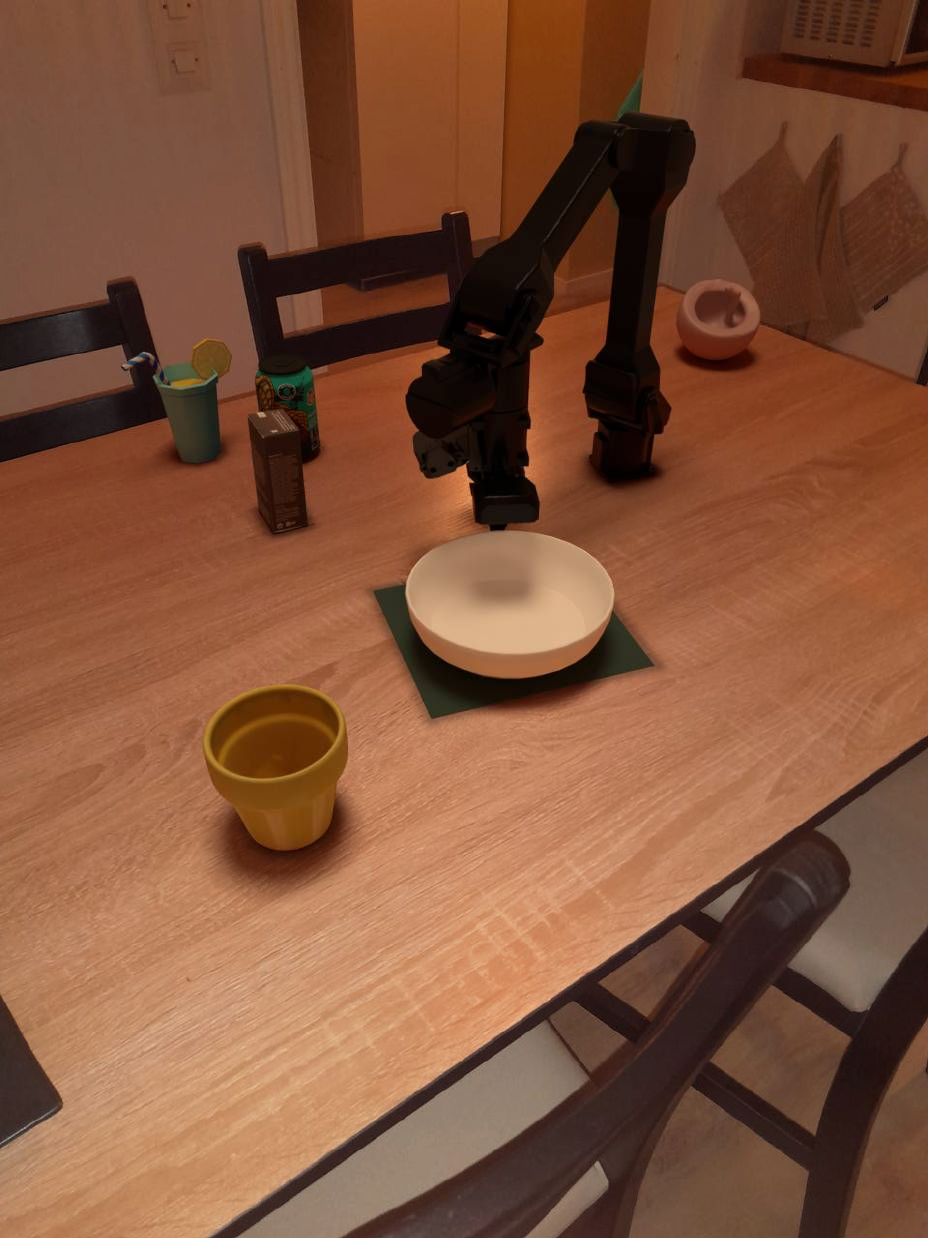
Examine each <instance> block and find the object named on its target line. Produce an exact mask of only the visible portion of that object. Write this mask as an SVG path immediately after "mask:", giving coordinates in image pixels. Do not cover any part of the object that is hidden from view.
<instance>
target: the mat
mask: <svg viewBox="0 0 928 1238" xmlns="http://www.w3.org/2000/svg"><path fill="white" fill-rule="evenodd" d="M405 591H406V583H405V584H399V585H394V586H389V587H383V588H379V589H374V590H372V593H373V594H374V596H375V598H376V601H377V603H378V605H379V608H380V610H381V612H382V614H383V616H384V618H385V621H386V623H387V625H388V627H389V630H390V631H391V634H392V636H393V639H394V640H395V642H396V645H397V647H398V649H399V652H400V654H401V656H402V658H403V660H404V662H405V664H406V666H407V669H408V671H409V673H410V675H411V677H412V680H413V682H414V684H415V686H416V689H417V691H418V693H419V695H420V697H421V700H422V702H423V704H424V706H425V708H426V710H427V713H428V715H429V717H430V719H431V720H434V719H439V718H442V717H447V716H450V715H454V714H458V713H463V712H467V711H471V710H475V709H479V708H483V707H488V706H491V705H497V704H501V703H505V702H508V701H513V700H517V699H522V698H526V697H530V696H534V695H537V694H542V693H547V692H550V691H554V690H559V689H564V688H567V687H572V686H575V685H576V686H577V685H580V684H584V683H587V682H592V681H597V680H600V679H605V678H609V677H614V676H617V675H621V674H626V673H630V672H635V671H638V670H642V669H647V668H650V667H651V668H652V667H655V664H654V662H653V661H652V660H651V658H649V656H648V654H647V653H646V652H645V650H643V648H642V647H641V646H640V644H639V643H638V641H637V640H636V639H635V638H634V636H633V635H632V634H631V633H630V631H629V630H628V629H627V627H626V626H625V625H624V623H623V622H622V620H621V619H620V618H619V616H618V615H617V613H615V611H614V609H613V610H612V613H611V617H610V621H609V623H608V625H607V627H606V629H605V631H604V633H603V634H602V636H601V638H600V639H599V641H598V642H597V644H596V645H595V646H594V647H593V648H592V649H591V651H590V652H589V653H588V654H587V655H585V656H584V657H582V658H581V659H580V660H578V661H577V662H575V663H574V664H571V665H569V666H567V667H565V668H563V669H561V670H558V671H554V672H551V673H547V674H544V675H540V676H537V677H530V678H523V679H500V678H492V677H486V676H482V675H479V674H475V673H471V672H469V671H467V670H463V669H461V668H459V667H457V666H454V665H452V664H450V663H448V662H446V661H445V660H443V659H442V658H440V657H439V656H437V655H436V654H434V653H433V652H432V651H431V650H430V649H429V648H428V647H427V646H426V645H425V644H424V643H423V641H422V639H421V637H420V636H419V634H418V632H417V631H416V629H415V627H414V625H413V623H412V621H411V618H410V614H409V610H408V606H407V600H406V595H405Z"/></svg>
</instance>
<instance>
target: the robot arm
mask: <svg viewBox="0 0 928 1238" xmlns="http://www.w3.org/2000/svg"><path fill="white" fill-rule="evenodd" d="M696 149H697V140H696V137H695V132H694V130H692V129H691V127H690V124H689V122H688V121H687V120H686V119H685V118H678V117H672V116H665V115H659V114H653V113H647V112H640V111H633V110H628V111H626V112H624V113H623V114H622V115H621V116H620V118H618V120H605V119H604V120H603V119H602V120H601V119H593V118H592V119H590V120H586V121H583V122H581V123H580V125H579V126H578V127H577V129H576V131H575V133H574V137H573V141H572V146H571V147H570V149H569V150H568V152H567V153H566V155H565V156H564V158H562V159H563V160H562V161H561V162H560V164H559V165H558V167H556V170H555V172H553V175H552V176H551V177H550V178H549V180H548V181H547V183H546V185H545V186H544V188H543V189H542V191H541V192H540V194H539V195H538V197H537V198H536V200H535V201H534V203H533V204H532V206H531V207H530V209H529V210H528V211H527V213H526V215H525V216H524V217H523V219H522V221H521V222H520V224H519V225H518V227H517V228H516V230H515V231H514V232H513V233H512V234H511V235H510V236H509V237H508V238H506V239H503V240H502V241H500V242H498V243H497V244H494V245H493V246H491V247H489V248H487V249H486V250H485V251H484V252H483V253H482V254H481V256H480V257H479V258H478V259H477V260H476V261H475V262H474V263H473V264H472V266H471V267H470V268H469V269H468V270H467V272H466V273H465V274H464V276H463V277H462V279H461V282H460V284H459V286H458V288H457V291H456V294H455V296H454V299H453V301H452V304H451V306H450V308H449V311H448V314H447V316H446V319H445V321H444V324H443V326H442V329H441V330H440V333H439V335H438V338H437V341H436V345H437V346H438V347H441V348H444V349H447V350H449V353H446V354H445V355H442V356H440V357H438V358H433V359H430V360H428V361H425V362H423V363H422V365H421V375H420V376H419V377H417V378H414V380H412V381H411V383H410V384H409V386H408V388H407V392H406V393H405V395H404V396H405V397H404V398H405V399H404V401H405V407H406V408H405V409H406V410H407V414H408V416H409V418H410V420H411V423H412V424H413V425H414V426H415V428H416V429H417V430H418V431H416V432H414V434H413V435H412V448H413V453H414V456H415V458H416V461H417V462H418V466H419V467H418V468H419V471H420V472H421V473H422V474H423V475H424V478H425V479H427V480H432V479H438V478H441V477H444V476H447V475H449V474H452V473H455V472H456V471H457V469H458V468H461V467H463V466H465V468H466V475H467V478H469V479H470V480H471V481H472V482H469V483H468V486H469V492H470V496H471V502H472V513H473V519H474V523H475V524H478V525H480V526H488V527H489V531H497V530H506V528H507V527H508V526H509V525H516V524H534V523H536V522H537V521H539V520H540V512H541V511H540V510H541V502H540V498H539V494H538V490H537V486H536V484H535V483H533V482H532V481H531V480H530V478H528V477H527V476H526V470H525V467H530V455H529V451H528V448H527V442H528V430H531V429H532V428H531V427H532V419H531V416H530V411H529V397H530V377H531V375H530V374H531V373H530V372H531V352H532V351H534V350H535V349H537V348H539V347H542V346H543V345H544V342H545V339H544V337H543V336H541V335H540V334H539V333H537V330H538V329H539V327H541V325H542V322H543V320H544V319H545V317H546V313H547V311H548V309H549V307H550V305H552V301H553V299H554V297H555V273H556V271H557V269H558V267H559V266H560V264H561V262H562V260H563V259H564V257H565V256H566V255H567V253H568V251H569V250H570V249H571V247H572V245H573V244H574V242H575V240H576V239H577V237H578V236H579V235H580V233H581V232H582V230H583V229H584V227H585V226H586V224H587V223H588V221H589V219H590V218H591V216H592V215H593V213H594V212H595V210H596V209H597V207H598V206H599V204H600V202H601V201H602V200H603V198H604V196H605V195H606V193H607V192H608V190H610V192H611V195H612V197H613V199H614V202H615V204H616V207H617V209H618V215H617V216H618V217H617V225H616V226H617V227H616V236H615V245H614V256H613V265H612V274H611V287H610V294H609V295H610V296H609V306H608V307H609V308H608V315H607V326H606V334H605V335H606V337H605V342H604V345H603V346H602V347H601V349H599V351H598V353H597V354H596V355H595V356H594V357H593V359H591V360H588V361H587V363H586V364H585V366H584V370H585V371H584V375H585V376H584V385H583V387H582V391H581V392H582V394H584V403H585V407H586V414H587V417H588V418H589V419H594V420H598V421H597V431H594V433H593V438H592V440H593V441H592V448H591V453H589V455H588V460H589V461H590V462H591V463H592V464H593V466H594V467H595V468H596V469H597V470H598V471H599V472H600V473H601V474H602V475H603V477H604V478H605V479H606V480H607V481H608V482H611V483H614V482H619V481H625V480H630V479H634V478H642V477H646V476H651V475H656V474H657V472H658V470H657V468H656V467H655V466H654V465H653V463H651V462H652V456H653V448H654V441H655V435H662V434H663V433H664V431H665V427H666V426H667V425H668V423H669V421H670V418H671V417H670V416H671V413H672V409H673V407H672V406H671V404H670V402H668V400H667V399H666V397H665V395H664V394H663V393H662V391H661V390H660V389H661V366H660V364H659V361H658V359H657V357H656V355H655V353H654V350H653V348H652V346H651V337H652V329H653V321H654V314H655V306H656V299H657V291H658V282H659V275H660V268H661V260H662V251H663V245H664V236H665V229H666V221H667V214H668V209H669V208H670V207H671V206H672V205H673V203H674V201H675V200H676V199H677V197H678V196H679V195H680V194H681V192H682V191H683V189H684V188H685V187H686V185H687V183H688V178H689V174H690V170H691V169H690V168H691V166H692V163H693V162H694V159H695V155H696ZM467 326H469V327H472V328H475V329H479V330H480V331H481V330H482V331H485V332H488V333H491V334H494V335H492V336H489V337H485V336H482V335H478V334H475V333H473V332H470V331H466V328H467Z"/></svg>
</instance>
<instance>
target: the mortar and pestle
mask: <svg viewBox="0 0 928 1238" xmlns="http://www.w3.org/2000/svg"><path fill="white" fill-rule="evenodd" d="M761 316H762V315H761V309H760V306H759V303H758V302H757V300H756V298H755V297H754V296H753V294H752V293H751V292H750V291H749V290H748V289H746V288H745V287H744V286H742V285H740V284H738V283H736V282H732V281H728V280H725V279H722V278H721V279H720V278H716V279H715V278H714V279H704V280H702V281H698V282H696V283H695V284H694V285H692V286H691V287H689V289H688V290H687V292H686V293H685V294H684V295H683V297H682V299H681V301H680V302H679V305H678V309H677V312H676V320H675V321H676V330H677V334H678V337H679V339H680V341H681V342H682V344H683V346H684V347H685V348H686V349H687V350H688V351H689V352H690V353H692V354H693V355H694V356H696V357H698V358H701V359H702V360H703V359H704V360H708V361H722V360H727V359H730V358H732V357H735V356H737V355H739V354H741V353H742V352H743V351H744V350H745V349H746V348H748V346H749V345H750V344H751V343H752V341H753V340H754V339H755V337H756V335H757V333H758V330H759V327H760V324H761V318H762V317H761Z"/></svg>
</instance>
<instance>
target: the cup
mask: <svg viewBox="0 0 928 1238" xmlns="http://www.w3.org/2000/svg"><path fill="white" fill-rule="evenodd" d="M232 359H233V354H232V353H231V351H230V349H229V348H228V346H227V345H226V343H225V342H224V341H223V340H219V339H215V338H214V339H213V338H208V337H206V338H204V339H203V340H201V341H200V342H199V343H197V344H195V345H194V346H193V347H192V350H191V355H190V361H187V362H181V363H175V364H170V365H166V366H165V367H163V368H162V367H161V364H160V363H159V362H158V360H157V359H156V357H155V355H153V354H151V353H149V352H145V351H142V352H141V353H139V354H138V355H136V356H134V357H133V358H131V359H129V360H128V361H126V362H124V363H123V364H121V365H120V368H121V369H122V371H124V372H127V371H129V370H130V369H133V368H134V367H136V366H138V365H139V364H141V363H143V362H145V361H149V363H150V366H151V367H152V368H153V370H154V371H155V374H154V375H153V376H152V379H153V381H154V384H155V387H156V388H157V390H158V391H159V394H160V397H161V401H162V403H163V407H164V409H165V413H166V417H167V420H168V423H169V426H170V429H171V433H172V437H173V439H174V442H175V445H176V449H177V453H178V456H179V457H180V458H181V460H182V462H185V463H191V464H197V465H198V464H203V463H207V462H211V461H214V460H215V459H216V458H217V457H219V456H220V455H221V454H222V442H221V440H222V439H221V428H220V415H219V413H220V412H219V399H218V387H217V386H218V385H217V384H218V383H219V379H221V378H222V377H223V376H225V375H226V374H228V373H229V372H230V369H231V364H232Z"/></svg>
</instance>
